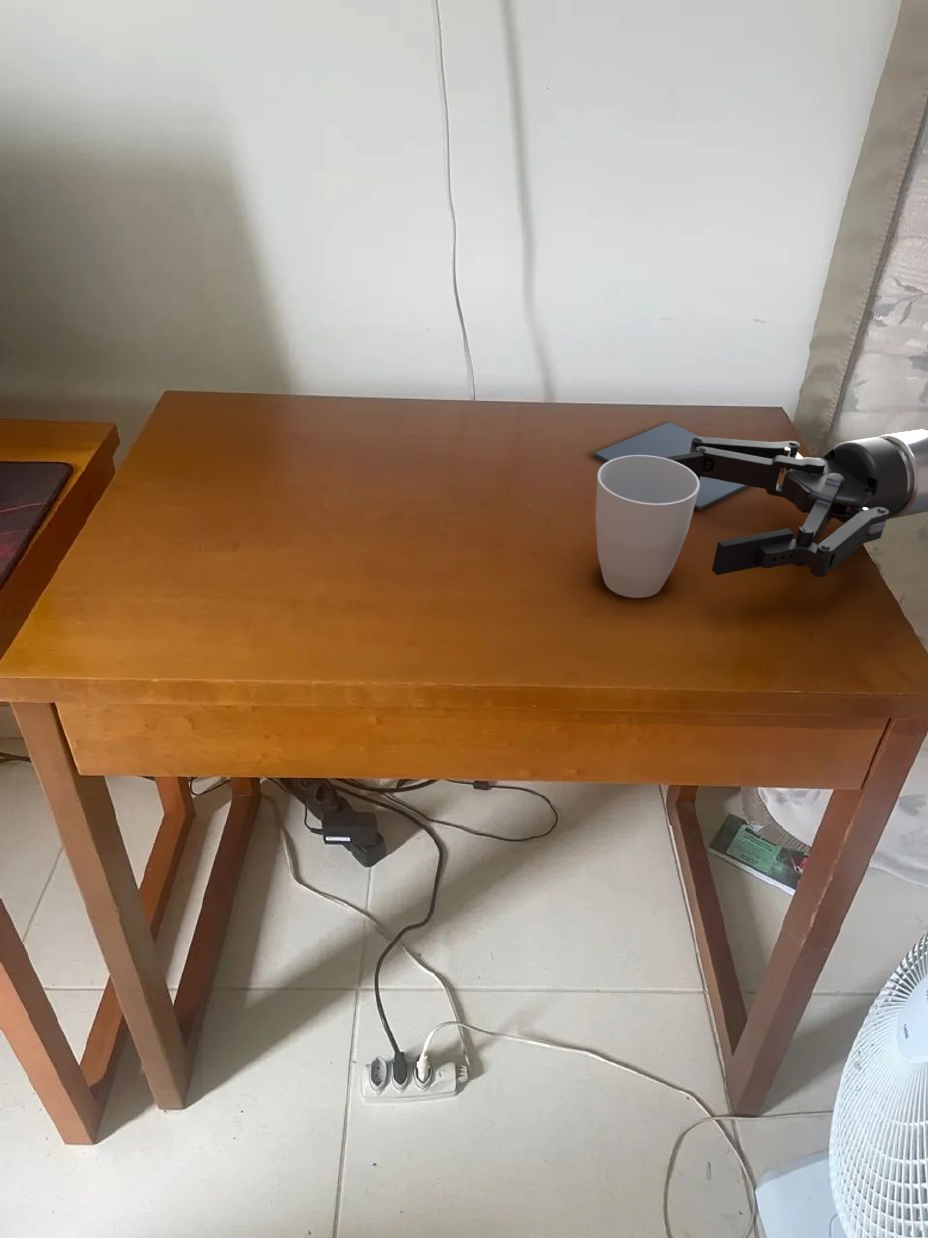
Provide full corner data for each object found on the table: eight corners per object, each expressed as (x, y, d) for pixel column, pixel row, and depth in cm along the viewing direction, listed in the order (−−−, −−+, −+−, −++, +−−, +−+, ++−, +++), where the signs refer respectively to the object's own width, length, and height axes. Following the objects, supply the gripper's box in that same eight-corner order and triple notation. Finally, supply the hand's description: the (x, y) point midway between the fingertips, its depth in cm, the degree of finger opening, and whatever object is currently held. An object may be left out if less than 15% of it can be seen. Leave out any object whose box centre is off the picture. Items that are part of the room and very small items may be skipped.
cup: (698, 597, 83) (719, 494, 77) (613, 617, 80) (628, 511, 74) (649, 548, 89) (665, 448, 83) (569, 565, 86) (580, 463, 80)
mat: (773, 473, 101) (774, 470, 100) (699, 510, 94) (699, 507, 94) (668, 425, 109) (669, 421, 109) (593, 456, 103) (594, 452, 103)
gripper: (967, 589, 81) (747, 638, 75) (790, 453, 100) (602, 484, 94) (1000, 510, 77) (769, 556, 70) (807, 384, 95) (611, 411, 89)
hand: (673, 515), depth 82 cm, fingers open, 13 cm apart
